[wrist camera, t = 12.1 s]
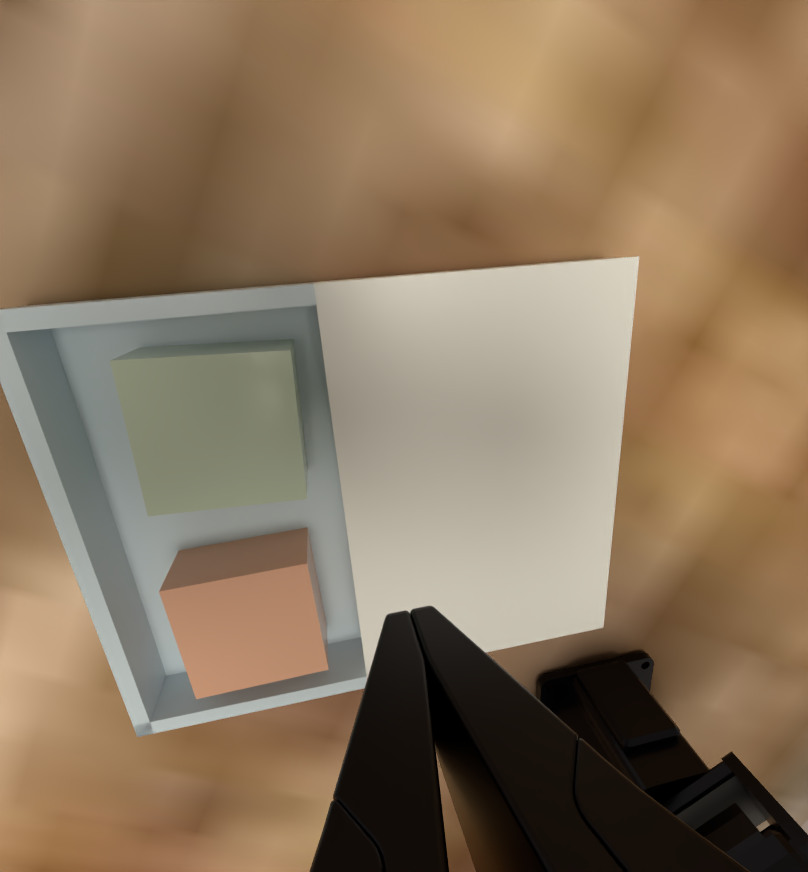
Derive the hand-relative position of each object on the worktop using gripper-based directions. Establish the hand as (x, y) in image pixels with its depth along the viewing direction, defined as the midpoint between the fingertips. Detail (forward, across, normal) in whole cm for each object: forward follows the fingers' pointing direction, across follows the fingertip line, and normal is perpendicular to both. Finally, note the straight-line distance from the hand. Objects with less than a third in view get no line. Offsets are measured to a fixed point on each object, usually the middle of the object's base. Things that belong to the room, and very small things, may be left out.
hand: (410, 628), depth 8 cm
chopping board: (+11, -4, +2) cm, 12 cm away
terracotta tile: (+10, +5, +6) cm, 13 cm away
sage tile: (+10, +4, -2) cm, 11 cm away
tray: (+11, +6, +2) cm, 12 cm away
